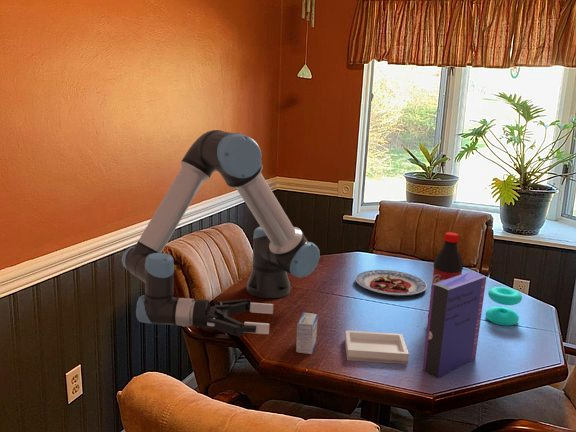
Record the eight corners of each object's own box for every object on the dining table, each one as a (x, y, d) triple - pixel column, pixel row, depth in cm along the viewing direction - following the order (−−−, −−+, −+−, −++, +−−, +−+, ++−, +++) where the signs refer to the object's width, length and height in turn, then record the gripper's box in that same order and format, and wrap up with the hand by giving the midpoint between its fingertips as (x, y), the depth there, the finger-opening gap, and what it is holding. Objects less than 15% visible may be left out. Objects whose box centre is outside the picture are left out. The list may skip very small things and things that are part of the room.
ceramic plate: (429, 303, 192) (430, 295, 191) (353, 296, 195) (354, 288, 195) (423, 278, 216) (424, 271, 216) (356, 272, 220) (357, 265, 219)
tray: (345, 340, 161) (345, 330, 160) (401, 343, 160) (402, 334, 160) (347, 360, 149) (347, 349, 149) (407, 364, 149) (408, 353, 148)
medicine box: (311, 355, 151) (313, 325, 149) (295, 352, 152) (297, 323, 150) (316, 342, 159) (318, 313, 157) (300, 340, 160) (302, 311, 158)
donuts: (485, 291, 176) (493, 283, 184) (481, 321, 179) (489, 311, 187) (518, 299, 171) (525, 290, 179) (513, 329, 173) (521, 319, 181)
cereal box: (460, 352, 157) (470, 270, 151) (475, 359, 153) (486, 275, 148) (422, 370, 146) (431, 283, 140) (437, 378, 142) (448, 289, 137)
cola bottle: (436, 334, 167) (447, 237, 160) (421, 322, 175) (431, 229, 168) (460, 332, 170) (472, 236, 163) (445, 320, 178) (456, 229, 171)
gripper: (202, 308, 168) (273, 313, 167) (183, 345, 143) (266, 352, 143) (203, 284, 166) (275, 289, 165) (183, 318, 142) (267, 324, 141)
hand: (271, 318), depth 154 cm, fingers open, 13 cm apart
